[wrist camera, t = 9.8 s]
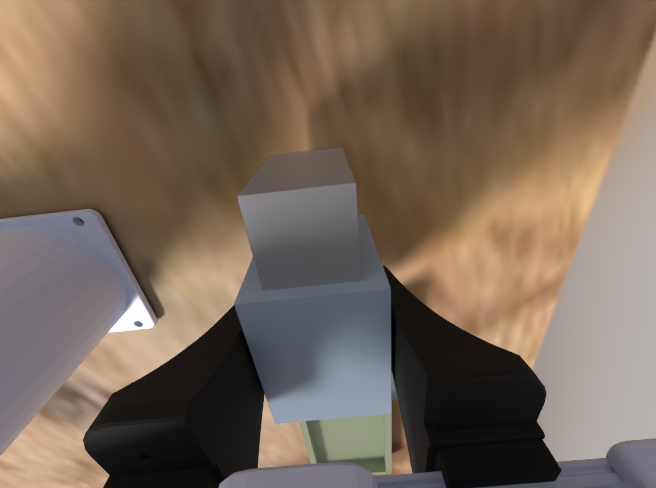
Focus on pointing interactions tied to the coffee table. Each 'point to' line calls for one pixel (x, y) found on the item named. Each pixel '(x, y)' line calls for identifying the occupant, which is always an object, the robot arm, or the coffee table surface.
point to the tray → (351, 441)
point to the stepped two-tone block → (314, 291)
